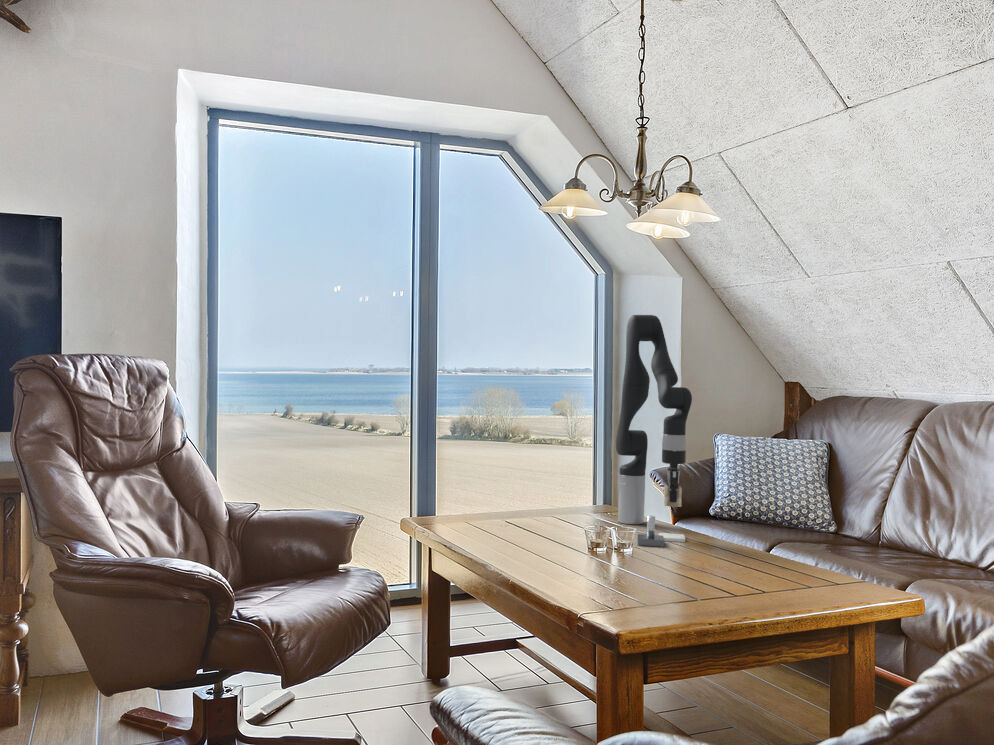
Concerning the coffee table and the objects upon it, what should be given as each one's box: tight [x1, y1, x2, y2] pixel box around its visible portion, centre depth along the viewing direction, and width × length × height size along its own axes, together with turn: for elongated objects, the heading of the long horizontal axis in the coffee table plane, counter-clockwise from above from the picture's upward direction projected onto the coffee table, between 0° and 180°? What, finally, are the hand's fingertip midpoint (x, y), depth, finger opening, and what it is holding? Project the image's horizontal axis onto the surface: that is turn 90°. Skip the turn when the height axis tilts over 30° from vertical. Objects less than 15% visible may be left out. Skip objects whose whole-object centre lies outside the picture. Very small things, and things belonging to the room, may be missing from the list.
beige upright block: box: [663, 484, 683, 508], centre depth 267 cm, size 5×5×6 cm
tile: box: [658, 532, 686, 543], centre depth 267 cm, size 8×8×1 cm
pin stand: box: [637, 515, 665, 548], centre depth 258 cm, size 8×8×8 cm
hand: (672, 500), depth 267 cm, fingers closed on beige upright block, 5 cm apart
